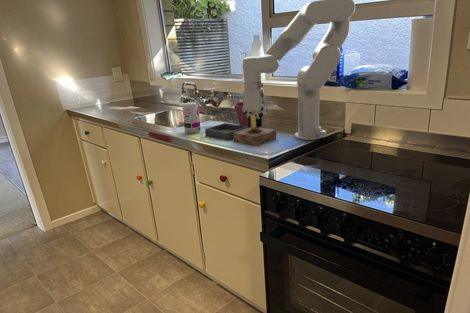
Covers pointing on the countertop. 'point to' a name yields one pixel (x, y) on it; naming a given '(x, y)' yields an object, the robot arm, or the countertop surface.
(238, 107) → the plant pot
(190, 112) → the supplement can
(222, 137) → the black tray
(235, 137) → the wooden block with hole
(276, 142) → the countertop surface
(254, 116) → the brass pin
